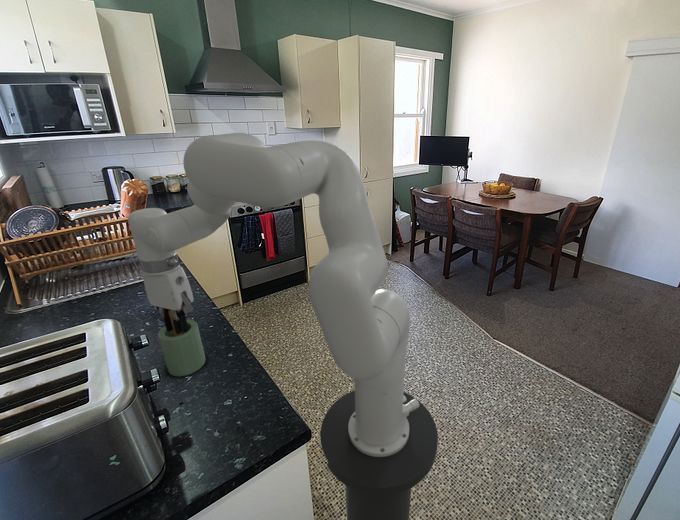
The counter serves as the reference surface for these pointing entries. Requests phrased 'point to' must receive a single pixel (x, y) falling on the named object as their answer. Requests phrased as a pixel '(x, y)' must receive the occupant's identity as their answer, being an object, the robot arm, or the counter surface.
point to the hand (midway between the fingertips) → (177, 329)
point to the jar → (182, 350)
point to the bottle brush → (172, 323)
